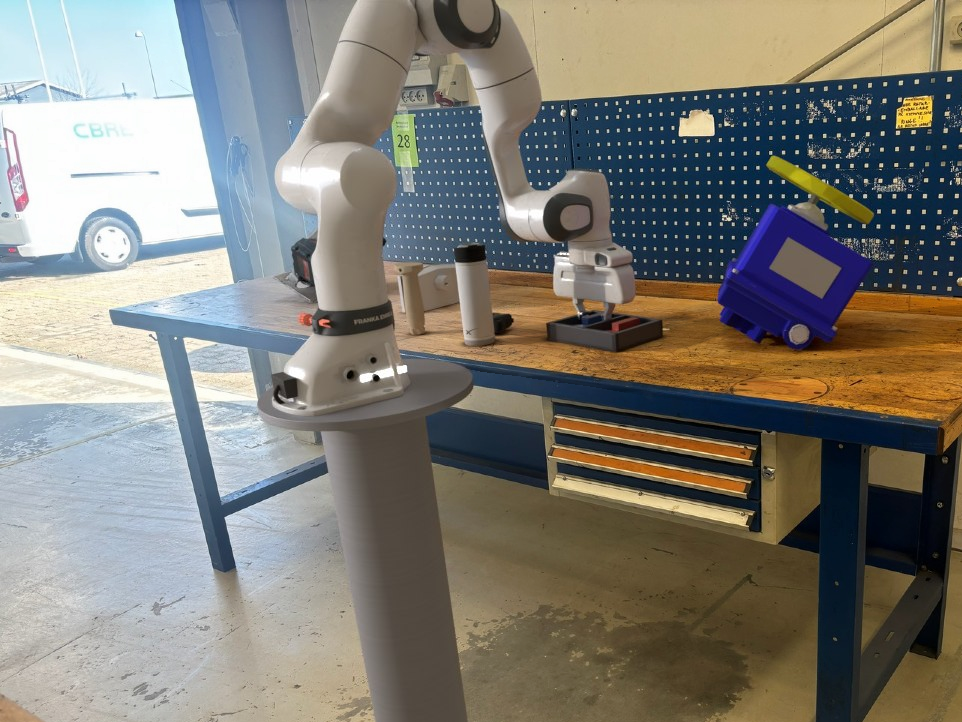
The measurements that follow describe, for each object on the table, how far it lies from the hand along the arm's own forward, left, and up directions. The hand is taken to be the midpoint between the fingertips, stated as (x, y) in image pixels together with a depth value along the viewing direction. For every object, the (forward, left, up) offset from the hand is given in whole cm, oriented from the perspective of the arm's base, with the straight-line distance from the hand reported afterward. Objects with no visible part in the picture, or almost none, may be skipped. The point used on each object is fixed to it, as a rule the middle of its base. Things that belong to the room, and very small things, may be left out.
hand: (594, 321), depth 175 cm
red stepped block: (-2, -9, -2) cm, 9 cm away
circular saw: (-3, +96, -3) cm, 96 cm away
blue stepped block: (-2, 0, -2) cm, 3 cm away
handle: (-20, +35, -3) cm, 40 cm away
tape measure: (-10, +20, -3) cm, 22 cm away
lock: (+1, +55, -3) cm, 55 cm away
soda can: (+20, +65, -3) cm, 68 cm away
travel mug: (-18, +16, -3) cm, 24 cm away
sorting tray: (-2, -4, -2) cm, 6 cm away
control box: (+20, -34, -3) cm, 40 cm away
